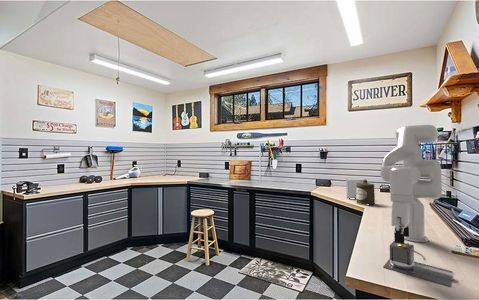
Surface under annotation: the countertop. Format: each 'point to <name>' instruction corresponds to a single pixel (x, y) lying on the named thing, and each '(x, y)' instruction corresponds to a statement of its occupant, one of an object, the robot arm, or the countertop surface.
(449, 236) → the countertop surface
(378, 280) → the countertop surface
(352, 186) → the hard drive box
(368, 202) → the wooden container
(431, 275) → the lever switch plate
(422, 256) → the pliers
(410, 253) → the socket
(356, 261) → the countertop surface
